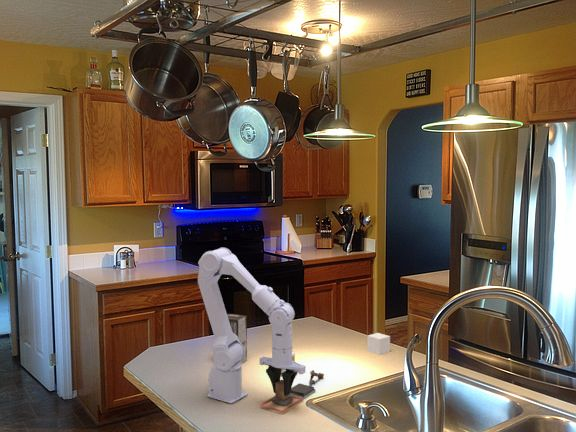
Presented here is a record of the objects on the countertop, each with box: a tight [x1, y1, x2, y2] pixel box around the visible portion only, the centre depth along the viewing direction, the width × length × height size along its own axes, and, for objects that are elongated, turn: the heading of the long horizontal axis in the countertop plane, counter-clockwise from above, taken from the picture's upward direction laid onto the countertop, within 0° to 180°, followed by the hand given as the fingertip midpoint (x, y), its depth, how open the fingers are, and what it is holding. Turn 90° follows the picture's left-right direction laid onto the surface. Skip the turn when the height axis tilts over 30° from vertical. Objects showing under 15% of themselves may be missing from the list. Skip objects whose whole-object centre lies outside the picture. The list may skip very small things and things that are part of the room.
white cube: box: [366, 332, 391, 356], centre depth 204 cm, size 6×6×6 cm
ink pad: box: [290, 383, 316, 400], centre depth 164 cm, size 6×7×2 cm
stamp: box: [271, 379, 293, 406], centre depth 156 cm, size 4×4×6 cm
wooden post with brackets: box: [308, 369, 325, 386], centre depth 173 cm, size 2×8×4 cm, turn 150°
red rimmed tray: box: [259, 395, 304, 415], centre depth 156 cm, size 8×11×1 cm
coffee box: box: [227, 313, 248, 364], centre depth 192 cm, size 9×6×16 cm
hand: (281, 393), depth 156 cm, fingers closed on stamp, 3 cm apart
